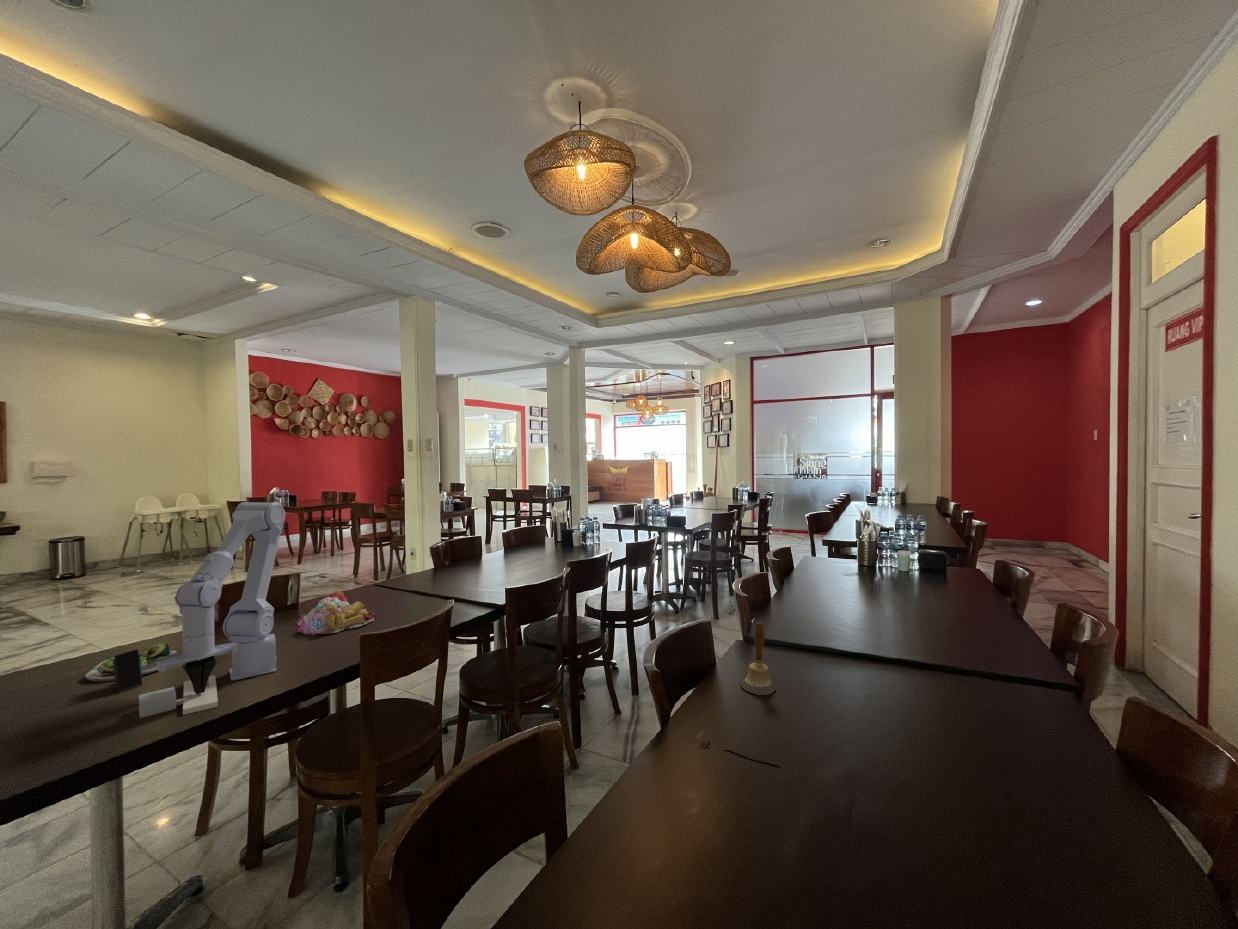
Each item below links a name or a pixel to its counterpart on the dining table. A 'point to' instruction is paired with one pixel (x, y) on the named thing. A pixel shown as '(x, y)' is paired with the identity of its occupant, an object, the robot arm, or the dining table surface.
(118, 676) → the speaker
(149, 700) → the charger
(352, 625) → the candy landscape model
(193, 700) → the power strip
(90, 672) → the salad plate
